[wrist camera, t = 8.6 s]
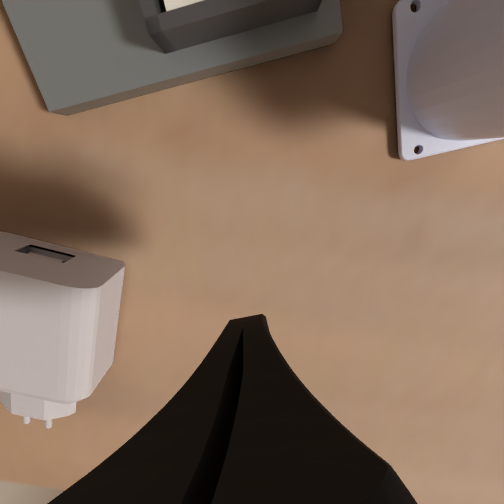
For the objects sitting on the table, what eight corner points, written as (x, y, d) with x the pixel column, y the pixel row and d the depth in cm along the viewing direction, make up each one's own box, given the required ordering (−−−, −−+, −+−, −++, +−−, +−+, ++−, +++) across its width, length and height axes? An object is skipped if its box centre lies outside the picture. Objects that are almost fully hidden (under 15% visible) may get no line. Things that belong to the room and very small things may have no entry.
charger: (5, 387, 24) (-2, 227, 19) (110, 409, 24) (130, 260, 20) (-53, 441, 19) (-82, 249, 14) (78, 466, 20) (93, 291, 15)
